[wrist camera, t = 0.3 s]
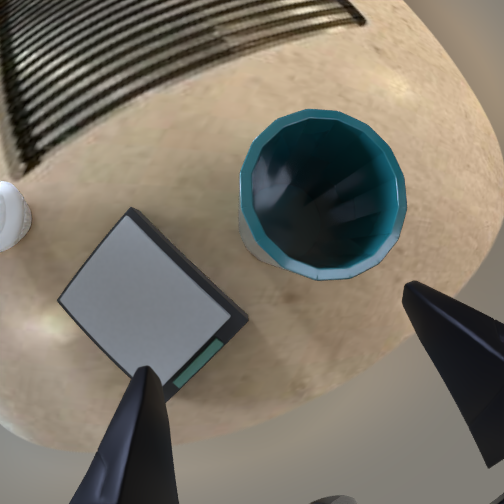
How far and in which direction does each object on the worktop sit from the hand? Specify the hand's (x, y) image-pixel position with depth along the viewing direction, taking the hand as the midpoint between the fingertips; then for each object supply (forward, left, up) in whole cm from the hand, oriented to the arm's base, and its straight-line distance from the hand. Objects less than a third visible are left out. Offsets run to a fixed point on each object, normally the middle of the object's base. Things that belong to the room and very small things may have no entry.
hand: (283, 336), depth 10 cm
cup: (+2, -5, -14) cm, 15 cm away
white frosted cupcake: (+20, +11, -15) cm, 27 cm away
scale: (+5, +7, -14) cm, 17 cm away
